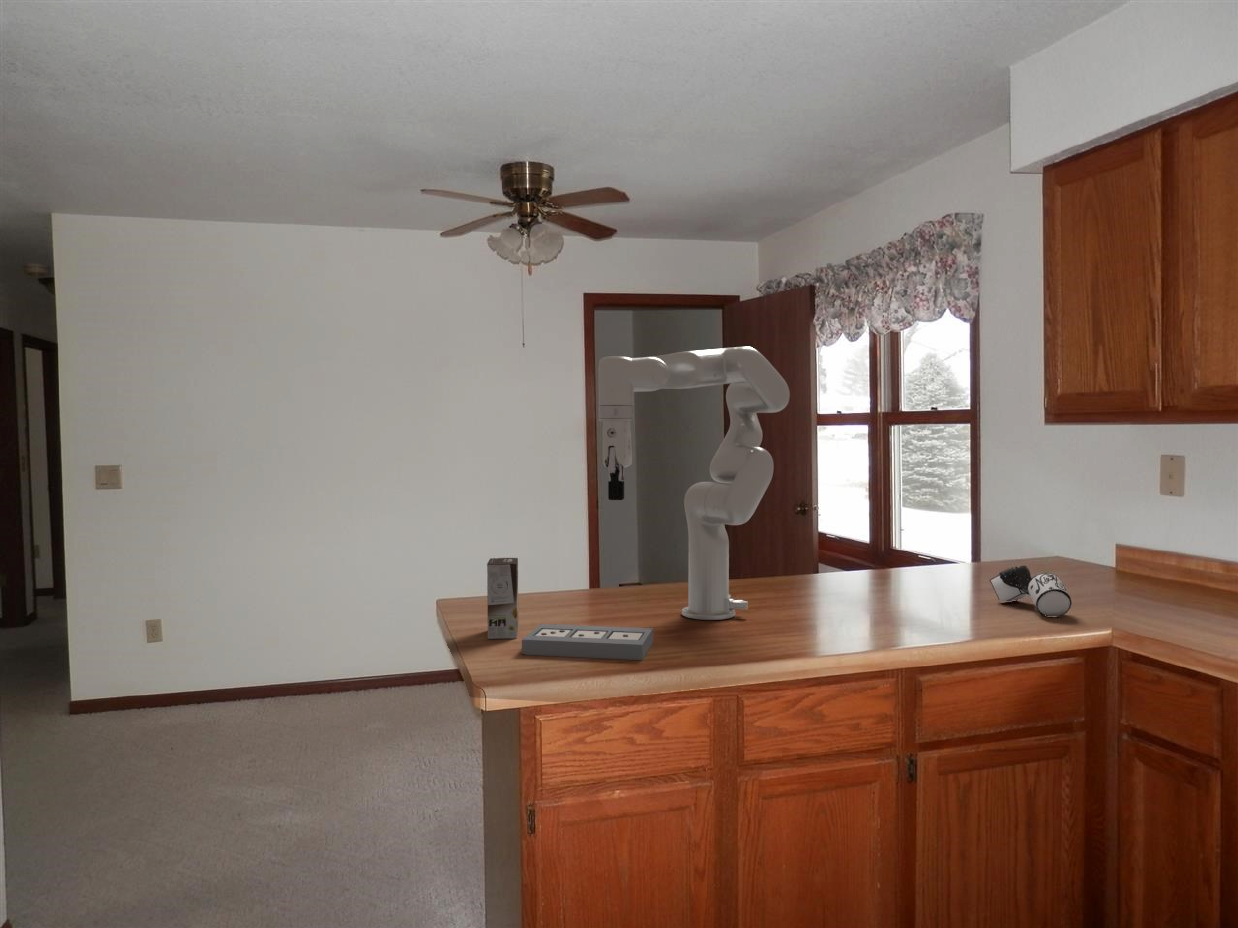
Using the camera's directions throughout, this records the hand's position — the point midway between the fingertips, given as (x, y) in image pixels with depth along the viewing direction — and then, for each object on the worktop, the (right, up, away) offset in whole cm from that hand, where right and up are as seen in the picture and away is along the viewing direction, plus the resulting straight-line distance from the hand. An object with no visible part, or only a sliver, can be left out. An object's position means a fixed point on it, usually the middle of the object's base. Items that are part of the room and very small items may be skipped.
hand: (616, 499), depth 194 cm
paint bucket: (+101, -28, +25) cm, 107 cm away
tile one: (+2, -29, -13) cm, 32 cm away
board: (-6, -30, -12) cm, 32 cm away
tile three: (-13, -29, -11) cm, 33 cm away
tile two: (-6, -29, -12) cm, 32 cm away
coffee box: (-24, -29, +1) cm, 38 cm away
